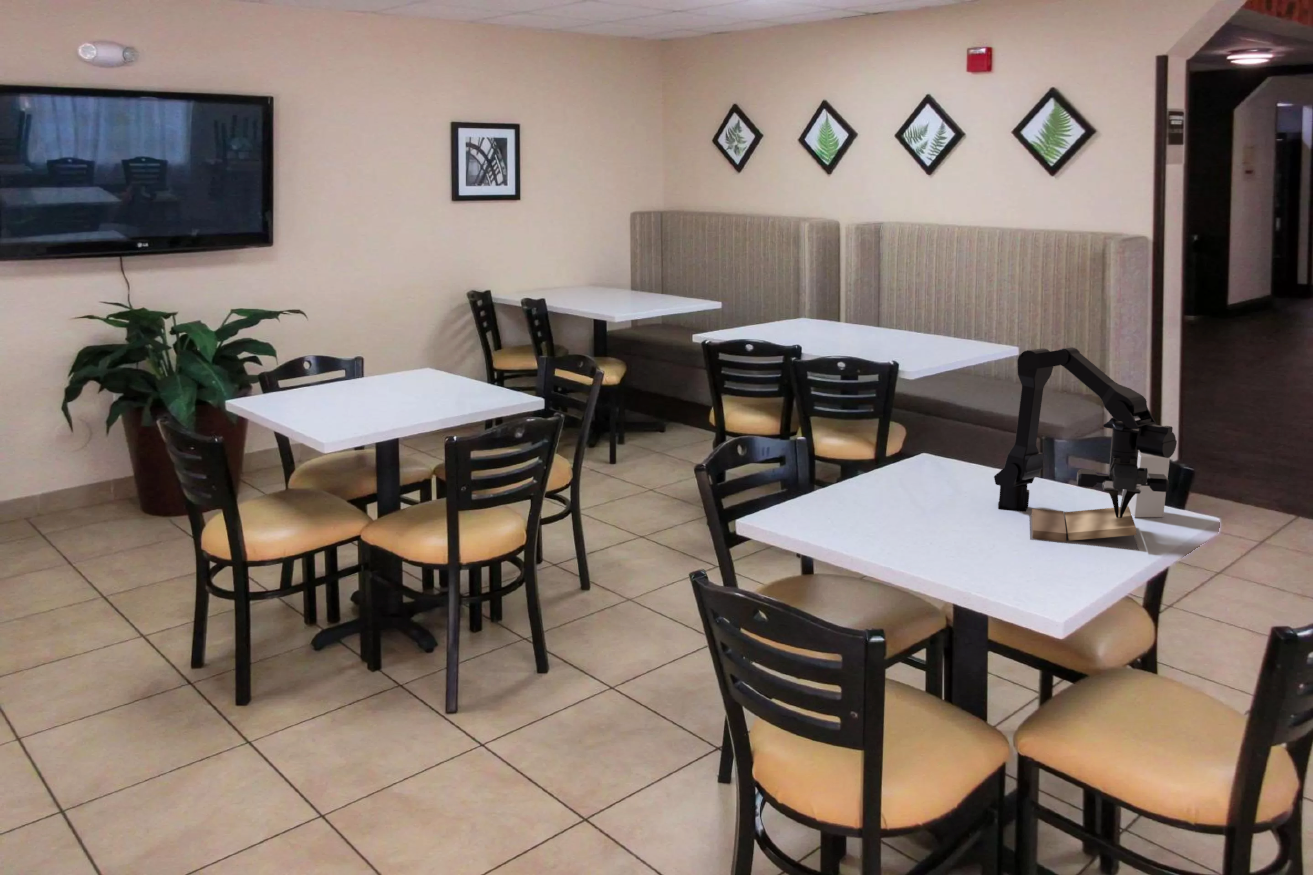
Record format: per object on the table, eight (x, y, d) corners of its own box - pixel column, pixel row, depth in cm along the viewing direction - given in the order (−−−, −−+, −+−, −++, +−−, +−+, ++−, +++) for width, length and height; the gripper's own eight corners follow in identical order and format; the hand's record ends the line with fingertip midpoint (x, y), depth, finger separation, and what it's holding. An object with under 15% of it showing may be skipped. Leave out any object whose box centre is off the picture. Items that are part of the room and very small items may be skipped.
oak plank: (1068, 540, 248) (1067, 532, 248) (1065, 519, 264) (1064, 512, 263) (1136, 534, 243) (1135, 526, 243) (1129, 513, 259) (1128, 506, 259)
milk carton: (1120, 509, 274) (1128, 434, 270) (1148, 509, 275) (1157, 434, 271) (1134, 518, 267) (1143, 440, 263) (1163, 517, 268) (1172, 440, 264)
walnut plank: (1032, 538, 250) (1033, 530, 249) (1031, 516, 266) (1032, 508, 266) (1065, 541, 248) (1066, 533, 247) (1062, 519, 264) (1063, 511, 264)
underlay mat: (1029, 541, 249) (1030, 539, 249) (1029, 516, 268) (1029, 515, 267) (1138, 551, 242) (1139, 549, 242) (1130, 525, 261) (1130, 524, 261)
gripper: (1081, 455, 244) (1076, 523, 247) (1175, 460, 238) (1168, 530, 242) (1079, 444, 254) (1074, 510, 257) (1168, 449, 249) (1162, 516, 252)
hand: (1118, 517), depth 252 cm, fingers closed
